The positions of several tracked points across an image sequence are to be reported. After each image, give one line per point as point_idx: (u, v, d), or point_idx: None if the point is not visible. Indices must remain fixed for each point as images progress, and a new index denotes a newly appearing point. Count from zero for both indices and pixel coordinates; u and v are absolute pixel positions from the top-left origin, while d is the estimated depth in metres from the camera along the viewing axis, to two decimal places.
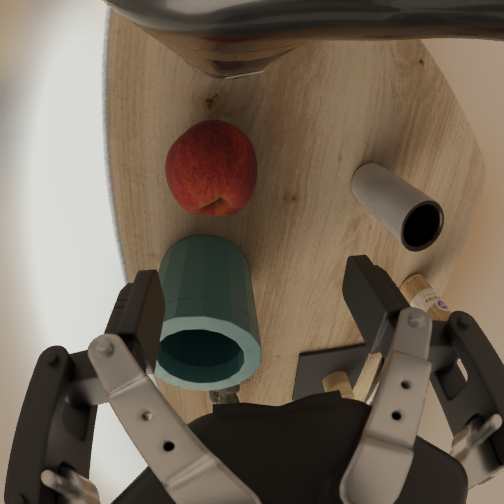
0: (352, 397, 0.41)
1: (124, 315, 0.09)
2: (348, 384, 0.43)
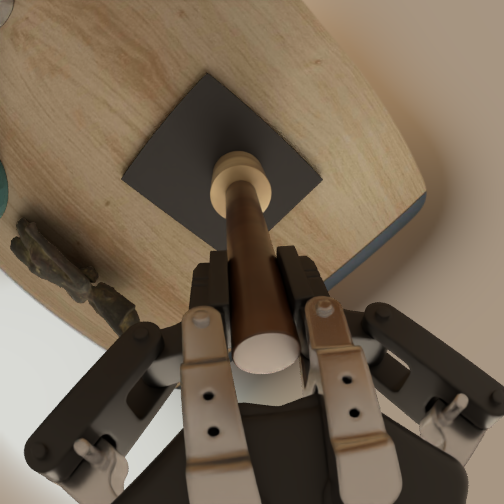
0: (250, 171, 0.20)
1: (211, 290, 0.10)
2: (236, 158, 0.21)
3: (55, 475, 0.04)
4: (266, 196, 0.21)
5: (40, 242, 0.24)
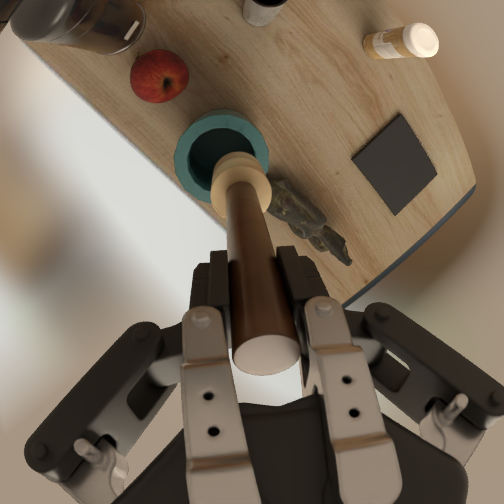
0: (250, 172, 0.20)
1: (211, 290, 0.10)
2: (236, 159, 0.21)
3: (55, 475, 0.04)
4: (266, 197, 0.21)
5: (293, 192, 0.42)
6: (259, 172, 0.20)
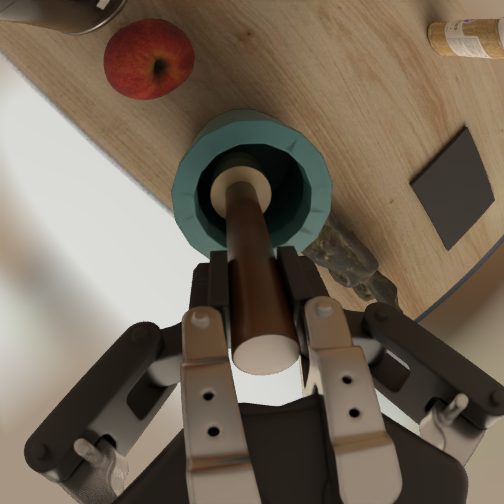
0: (250, 172, 0.20)
1: (211, 290, 0.10)
2: (236, 159, 0.21)
3: (55, 475, 0.04)
4: (266, 197, 0.21)
5: (340, 229, 0.30)
6: (259, 172, 0.20)
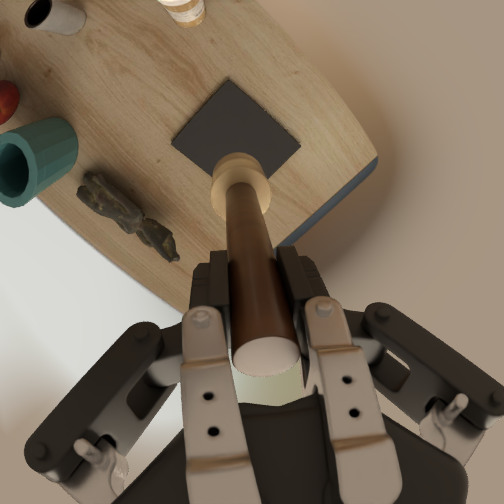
0: (250, 173, 0.20)
1: (211, 290, 0.10)
2: (236, 159, 0.21)
3: (55, 475, 0.04)
4: (266, 198, 0.21)
5: (106, 186, 0.37)
6: (259, 173, 0.20)
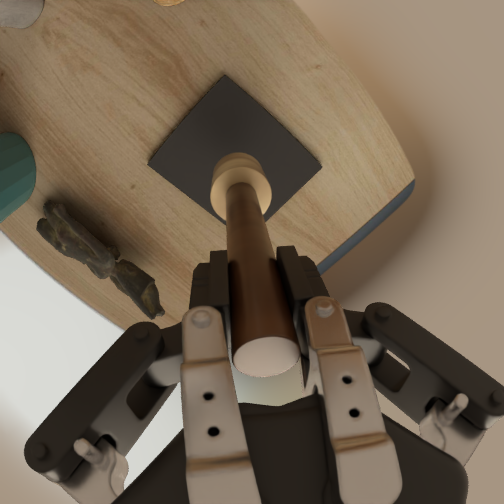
0: (250, 173, 0.20)
1: (211, 290, 0.10)
2: (236, 159, 0.21)
3: (55, 475, 0.04)
4: (266, 198, 0.21)
5: (68, 221, 0.27)
6: (259, 173, 0.20)
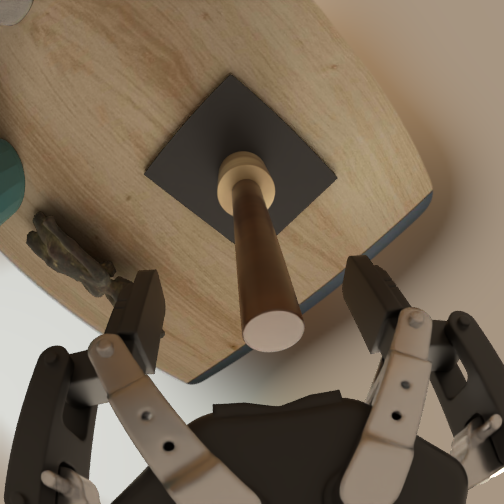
0: (255, 170, 0.21)
1: (124, 315, 0.09)
2: (241, 158, 0.22)
3: None
4: (270, 194, 0.22)
5: (59, 236, 0.25)
6: (263, 170, 0.21)
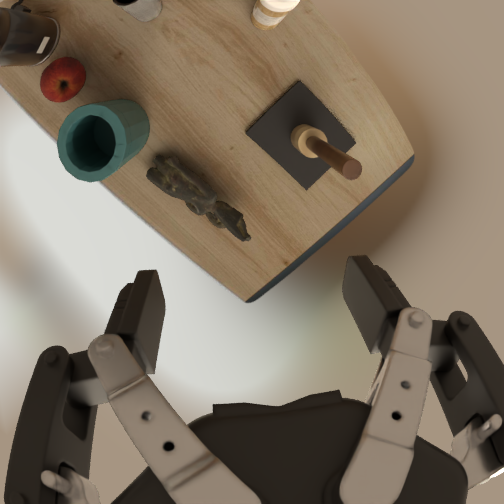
0: (318, 131, 0.38)
1: (124, 315, 0.09)
2: (308, 126, 0.39)
3: None
4: None
5: (181, 168, 0.42)
6: (322, 132, 0.38)
